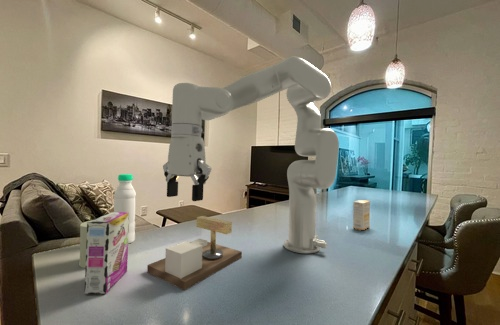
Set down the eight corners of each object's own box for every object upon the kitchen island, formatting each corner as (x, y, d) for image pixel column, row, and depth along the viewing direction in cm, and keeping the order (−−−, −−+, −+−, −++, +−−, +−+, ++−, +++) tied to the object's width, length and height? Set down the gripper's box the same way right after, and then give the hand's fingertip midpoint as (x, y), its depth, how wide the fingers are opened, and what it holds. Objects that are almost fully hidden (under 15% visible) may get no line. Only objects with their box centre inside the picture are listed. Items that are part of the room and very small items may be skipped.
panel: (241, 257, 73) (241, 251, 73) (184, 290, 54) (184, 282, 54) (207, 247, 82) (207, 241, 82) (147, 272, 63) (147, 265, 63)
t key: (191, 254, 70) (192, 218, 70) (205, 248, 75) (206, 214, 75) (221, 264, 64) (222, 225, 64) (234, 257, 69) (235, 220, 69)
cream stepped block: (210, 263, 65) (211, 241, 65) (180, 278, 56) (181, 253, 56) (195, 257, 68) (196, 237, 68) (165, 271, 59) (165, 248, 59)
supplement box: (359, 225, 115) (360, 199, 115) (369, 228, 111) (370, 200, 111) (352, 228, 109) (353, 201, 109) (362, 231, 106) (363, 202, 106)
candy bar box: (107, 295, 52) (108, 222, 52) (83, 295, 51) (84, 222, 51) (128, 271, 63) (130, 211, 63) (109, 271, 63) (110, 211, 63)
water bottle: (125, 246, 81) (127, 175, 81) (108, 244, 83) (109, 174, 82) (139, 239, 88) (140, 174, 88) (123, 238, 89) (124, 173, 89)
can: (93, 270, 63) (94, 226, 63) (71, 264, 66) (72, 223, 66) (122, 257, 72) (123, 219, 72) (101, 253, 75) (102, 216, 75)
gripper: (221, 133, 59) (219, 200, 59) (176, 135, 68) (174, 193, 68) (199, 129, 52) (196, 204, 52) (153, 132, 62) (151, 196, 62)
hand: (184, 198), depth 60 cm, fingers open, 9 cm apart
